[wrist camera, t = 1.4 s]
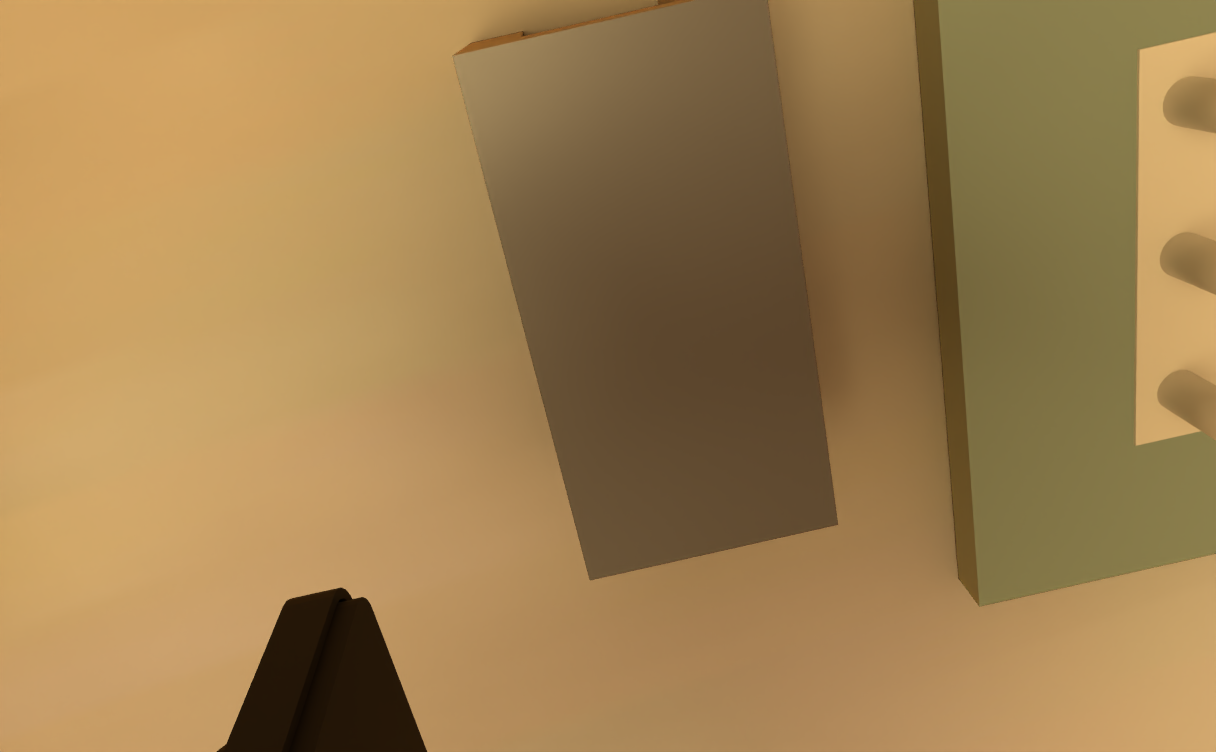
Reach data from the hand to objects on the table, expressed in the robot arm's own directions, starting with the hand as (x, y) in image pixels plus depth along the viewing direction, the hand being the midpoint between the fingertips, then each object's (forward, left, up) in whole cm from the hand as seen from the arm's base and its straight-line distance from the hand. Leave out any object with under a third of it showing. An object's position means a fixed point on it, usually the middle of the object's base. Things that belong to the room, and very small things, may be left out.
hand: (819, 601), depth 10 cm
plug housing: (0, 0, -17) cm, 17 cm away
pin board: (-3, -14, -16) cm, 22 cm away
